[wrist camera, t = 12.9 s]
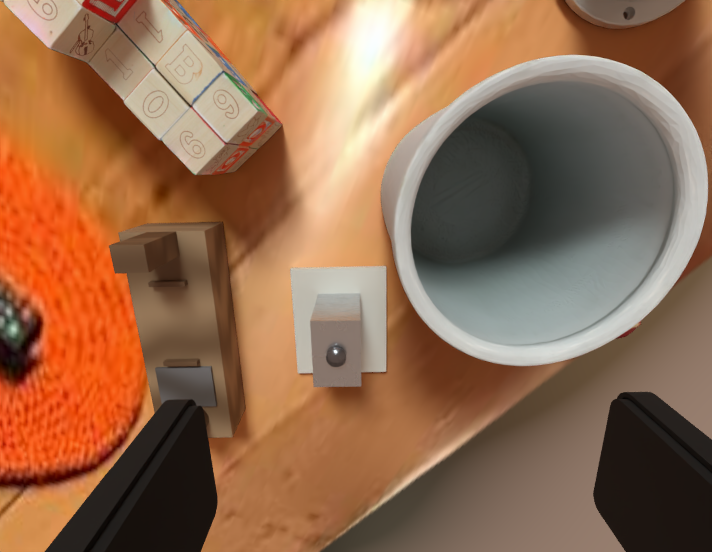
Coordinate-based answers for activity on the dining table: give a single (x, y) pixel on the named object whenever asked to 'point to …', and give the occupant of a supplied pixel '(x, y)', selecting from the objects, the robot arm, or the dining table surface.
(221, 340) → the plane body
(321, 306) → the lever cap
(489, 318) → the utensil holder
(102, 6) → the stack of blocks
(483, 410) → the dining table surface
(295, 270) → the pad
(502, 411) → the dining table surface
